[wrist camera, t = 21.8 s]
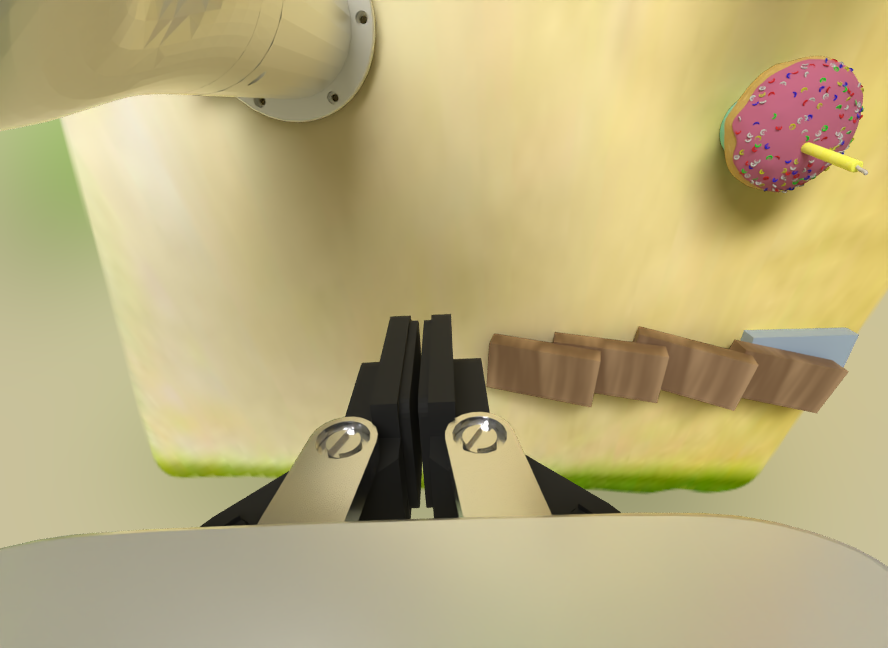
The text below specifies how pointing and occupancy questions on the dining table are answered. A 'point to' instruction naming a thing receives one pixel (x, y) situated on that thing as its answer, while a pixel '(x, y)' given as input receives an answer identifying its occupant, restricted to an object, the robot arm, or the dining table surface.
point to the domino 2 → (624, 366)
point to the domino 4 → (807, 341)
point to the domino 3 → (702, 369)
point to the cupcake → (793, 124)
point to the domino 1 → (543, 369)
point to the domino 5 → (790, 377)
